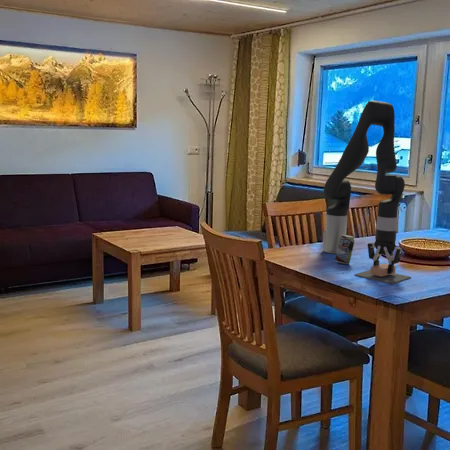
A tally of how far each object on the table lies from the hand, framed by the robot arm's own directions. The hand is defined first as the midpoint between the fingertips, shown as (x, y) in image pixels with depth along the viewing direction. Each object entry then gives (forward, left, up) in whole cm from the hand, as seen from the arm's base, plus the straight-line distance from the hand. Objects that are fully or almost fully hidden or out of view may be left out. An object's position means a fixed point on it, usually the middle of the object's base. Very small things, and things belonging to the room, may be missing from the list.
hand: (382, 271), depth 219 cm
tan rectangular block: (0, 0, -1) cm, 1 cm away
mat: (0, 0, -2) cm, 2 cm away
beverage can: (-22, +7, -2) cm, 23 cm away
